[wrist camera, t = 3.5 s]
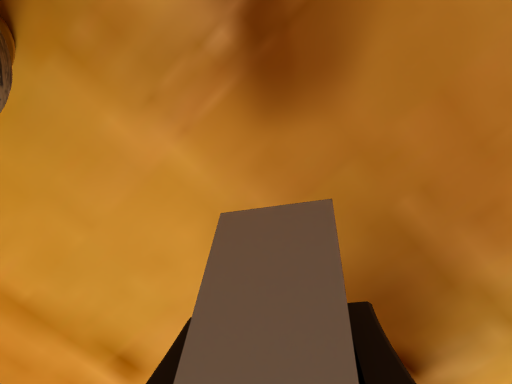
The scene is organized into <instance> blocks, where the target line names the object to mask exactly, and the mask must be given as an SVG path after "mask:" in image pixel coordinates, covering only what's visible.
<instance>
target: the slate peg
mask: <svg viewBox="0 0 512 384" xmlns="http://www.w3.org/2000/svg"><path fill="white" fill-rule="evenodd" d="M173 384H359V382H358V375H357V368H356V361H355V354H354V347H353V340H352V333H351V326H350V320H349V313H348V306H347V299H346V292H345V285H344V278H343V271H342V264H341V257H340V250H339V244H338V237H337V230H336V223H335V216H334V209H333V202H332V199H326V200H318V201H311V202H303V203H295V204H288V205H280V206H272V207H265V208H257V209H250V210H242V211H234V212H227V213H221V214H220V218H219V221H218V225H217V229H216V232H215V236H214V239H213V243H212V247H211V250H210V254H209V257H208V261H207V265H206V268H205V272H204V275H203V279H202V283H201V286H200V290H199V293H198V297H197V301H196V304H195V308H194V311H193V315H192V319H191V322H190V326H189V329H188V333H187V337H186V340H185V344H184V347H183V351H182V355H181V358H180V362H179V365H178V369H177V373H176V376H175V380H174V383H173Z"/></svg>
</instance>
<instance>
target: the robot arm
mask: <svg viewBox="0 0 512 384" xmlns="http://www.w3.org/2000/svg"><path fill="white" fill-rule="evenodd" d="M347 306H348V313H349V320H350V326H351V333H352V340H353V347H354V354H355V361H356V368H357V375H358V382H359V384H416V383H415V381H414V380H413V379H412V377H411V376H410V374H409V373H408V371H407V370H406V368H405V367H404V365H403V363H402V362H401V360H400V359H399V357H398V355H397V354H396V352H395V351H394V349H393V347H392V346H391V344H390V342H389V340H388V339H387V337H386V335H385V333H384V331H383V329H382V327H381V325H380V323H379V321H378V319H377V317H376V314H375V312H374V309H373V307H372V304H371V303H369V302H368V301H367V302H355V303H347ZM191 319H192V317H191V318H190V319H189V320H188V321H187V323H186V324H185V326H184V327H183V329H182V331H181V332H180V334H179V335H178V337H177V338H176V340H175V341H174V343H173V345H172V346H171V348H170V349H169V351H168V352H167V354H166V355H165V357H164V358H163V360H162V361H161V363H160V364H159V365H158V367H157V368H156V370H155V371H154V373H153V374H152V376H151V377H150V378H149V380H148V381H147V383H146V384H173V383H174V380H175V376H176V373H177V369H178V365H179V362H180V358H181V355H182V351H183V347H184V344H185V340H186V337H187V333H188V329H189V326H190V322H191Z"/></svg>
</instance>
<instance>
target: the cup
mask: <svg viewBox="0 0 512 384" xmlns="http://www.w3.org/2000/svg"><path fill="white" fill-rule="evenodd" d="M14 58H15V43H14V39H13V36H12V33H11V31H10V29H9V27H8V26H7V24H6V23H5V21H4V20H3V19H2V17H1V16H0V112H1V111H2V109H3V108H4V106H5V104H6V102H7V99H8V96H9V93H10V90H11V84H12V65H13V62H14Z"/></svg>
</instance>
